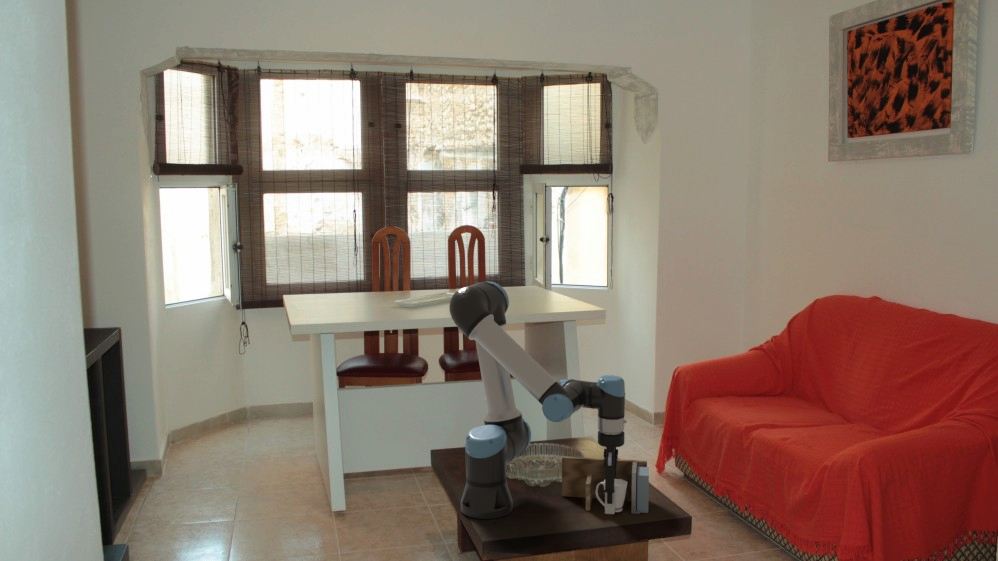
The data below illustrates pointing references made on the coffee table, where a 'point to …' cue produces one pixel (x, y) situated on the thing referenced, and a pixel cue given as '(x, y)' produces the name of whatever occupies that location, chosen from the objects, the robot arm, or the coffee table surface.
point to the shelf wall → (593, 475)
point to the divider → (588, 492)
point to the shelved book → (643, 489)
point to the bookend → (634, 489)
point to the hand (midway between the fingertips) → (610, 508)
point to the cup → (616, 493)
